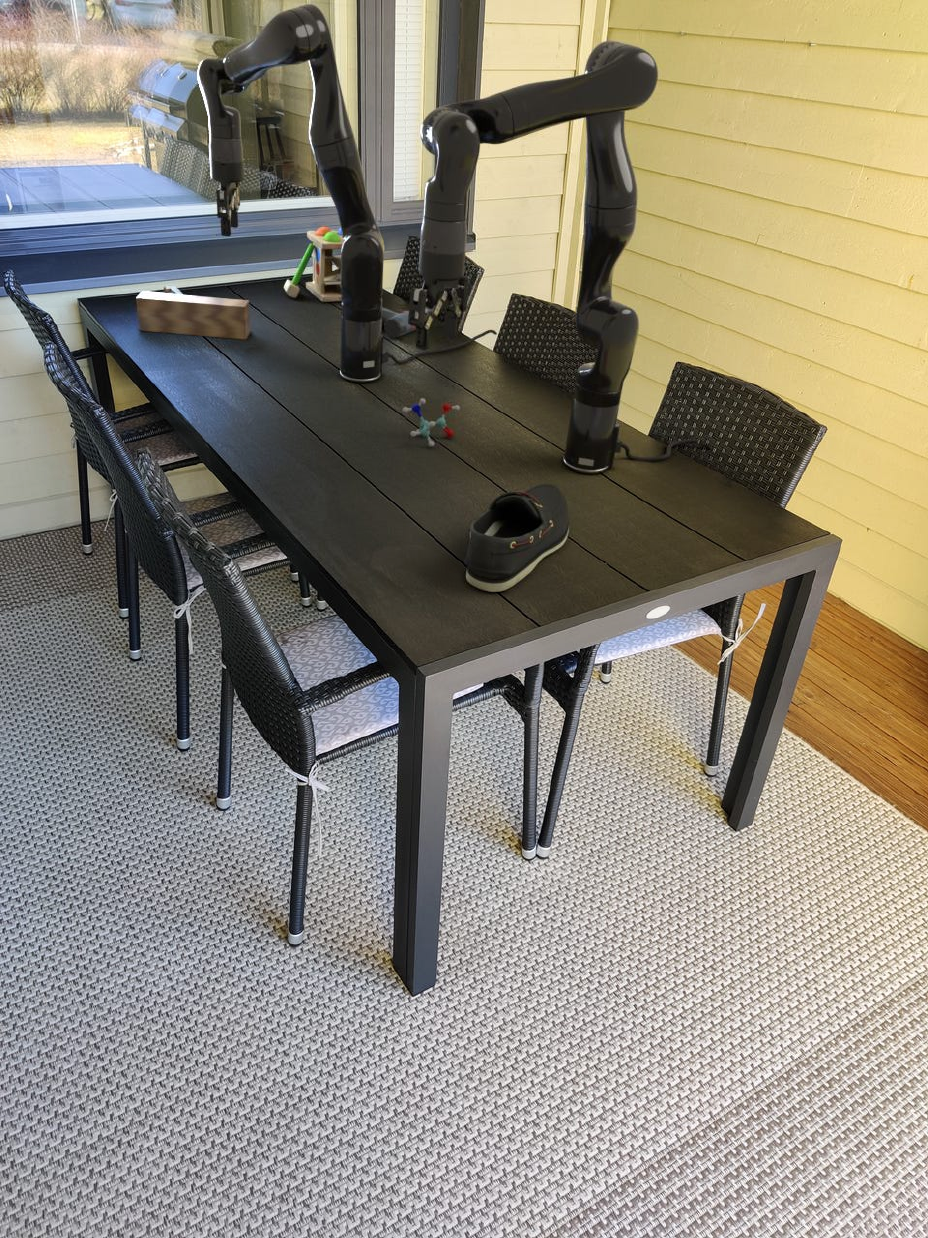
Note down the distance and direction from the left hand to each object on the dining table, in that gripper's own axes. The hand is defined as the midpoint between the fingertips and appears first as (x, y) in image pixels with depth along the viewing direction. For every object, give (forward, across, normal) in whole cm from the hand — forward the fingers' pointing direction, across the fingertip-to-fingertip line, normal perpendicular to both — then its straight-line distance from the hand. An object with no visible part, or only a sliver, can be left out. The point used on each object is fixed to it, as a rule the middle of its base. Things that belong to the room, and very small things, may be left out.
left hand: (230, 231), depth 234 cm
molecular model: (+25, +54, +51) cm, 78 cm away
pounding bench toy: (+25, -40, +18) cm, 50 cm away
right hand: (-4, +79, +52) cm, 94 cm away
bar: (+25, 0, -10) cm, 27 cm away
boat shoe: (+25, +98, +68) cm, 122 cm away
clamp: (+25, -22, -19) cm, 38 cm away
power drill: (+25, -18, +38) cm, 49 cm away
